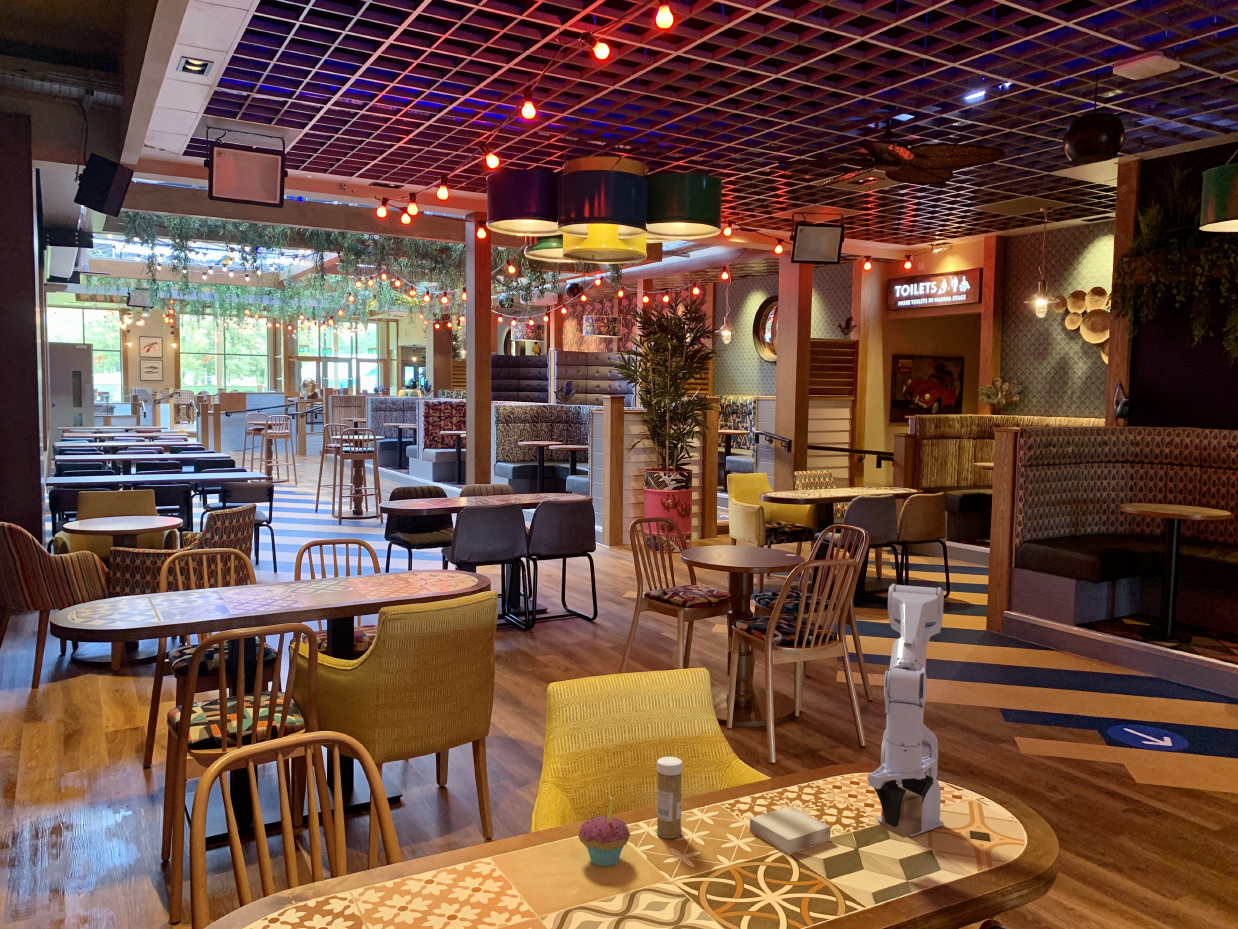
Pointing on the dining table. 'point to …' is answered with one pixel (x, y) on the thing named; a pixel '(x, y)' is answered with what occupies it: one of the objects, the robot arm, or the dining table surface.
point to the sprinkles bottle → (669, 797)
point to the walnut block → (907, 816)
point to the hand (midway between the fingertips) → (901, 820)
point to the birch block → (790, 829)
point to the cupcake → (604, 837)
